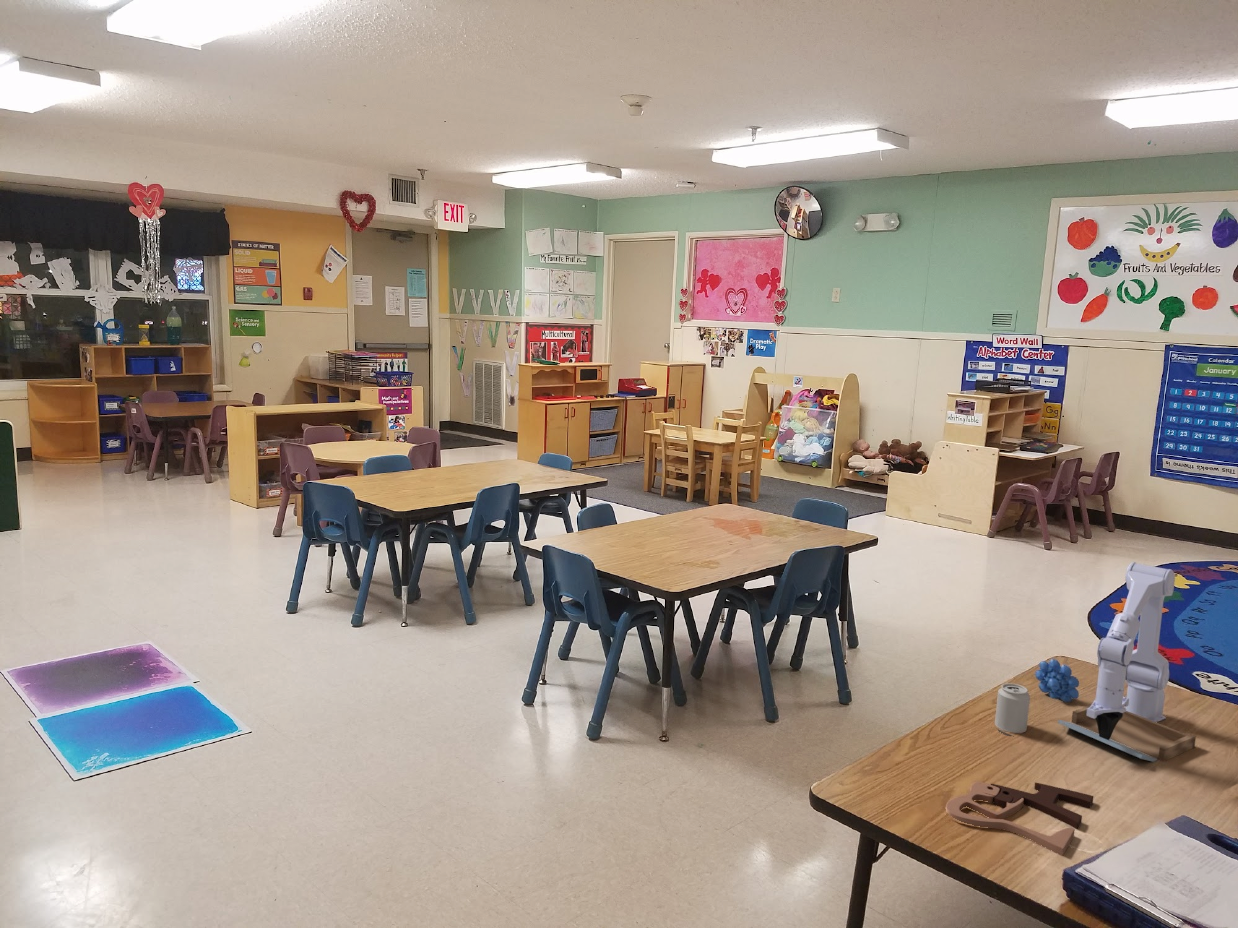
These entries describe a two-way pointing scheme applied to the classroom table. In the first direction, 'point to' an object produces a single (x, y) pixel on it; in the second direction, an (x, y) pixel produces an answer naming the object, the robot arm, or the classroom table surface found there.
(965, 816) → the wood carving
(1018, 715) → the can
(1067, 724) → the panel
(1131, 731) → the tray
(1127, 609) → the robot arm
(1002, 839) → the classroom table surface
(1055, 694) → the grapes
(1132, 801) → the classroom table surface
